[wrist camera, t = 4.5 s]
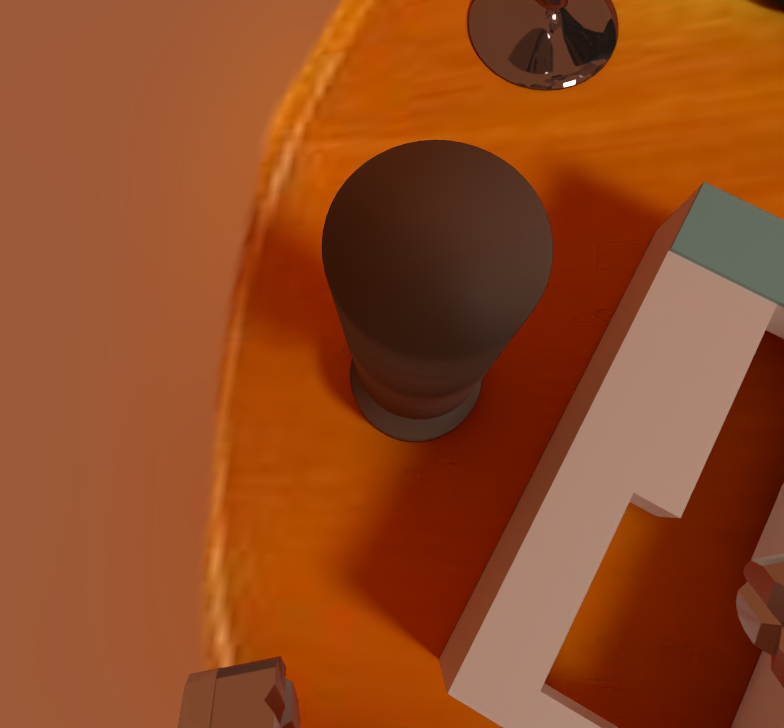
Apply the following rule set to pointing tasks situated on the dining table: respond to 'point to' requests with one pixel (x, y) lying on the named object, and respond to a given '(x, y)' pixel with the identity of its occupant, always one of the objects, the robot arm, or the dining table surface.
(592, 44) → the wine glass
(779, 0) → the coffee jar
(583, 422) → the keyhole plate
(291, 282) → the dining table surface
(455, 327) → the knob post
